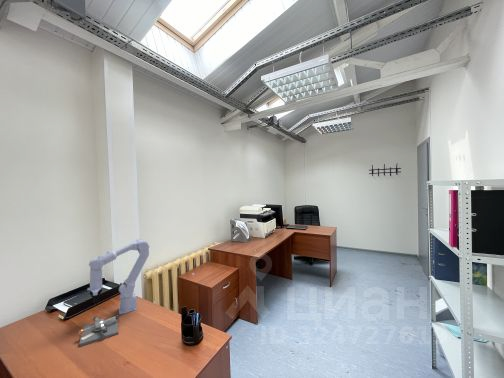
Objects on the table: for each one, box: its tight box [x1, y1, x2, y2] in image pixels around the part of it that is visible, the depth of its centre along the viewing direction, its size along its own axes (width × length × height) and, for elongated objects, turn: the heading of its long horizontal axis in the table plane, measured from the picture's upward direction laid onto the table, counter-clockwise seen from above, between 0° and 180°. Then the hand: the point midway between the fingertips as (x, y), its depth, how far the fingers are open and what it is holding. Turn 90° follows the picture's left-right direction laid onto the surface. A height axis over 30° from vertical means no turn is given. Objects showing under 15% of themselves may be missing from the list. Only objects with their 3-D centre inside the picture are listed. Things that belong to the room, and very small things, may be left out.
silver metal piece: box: [77, 314, 120, 336], centre depth 115 cm, size 18×18×4 cm
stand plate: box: [78, 318, 119, 348], centre depth 115 cm, size 16×16×1 cm
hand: (96, 302), depth 124 cm, fingers closed
